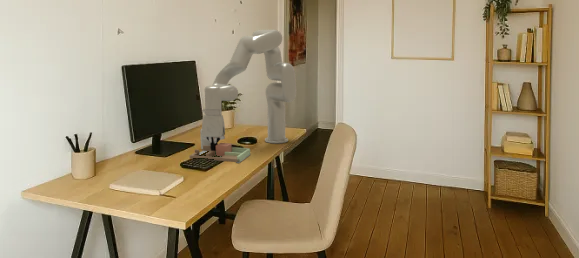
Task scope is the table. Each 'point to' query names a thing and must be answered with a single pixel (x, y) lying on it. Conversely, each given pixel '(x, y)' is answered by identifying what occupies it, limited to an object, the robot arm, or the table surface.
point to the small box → (204, 140)
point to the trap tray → (234, 156)
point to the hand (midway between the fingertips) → (214, 150)
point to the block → (223, 149)
